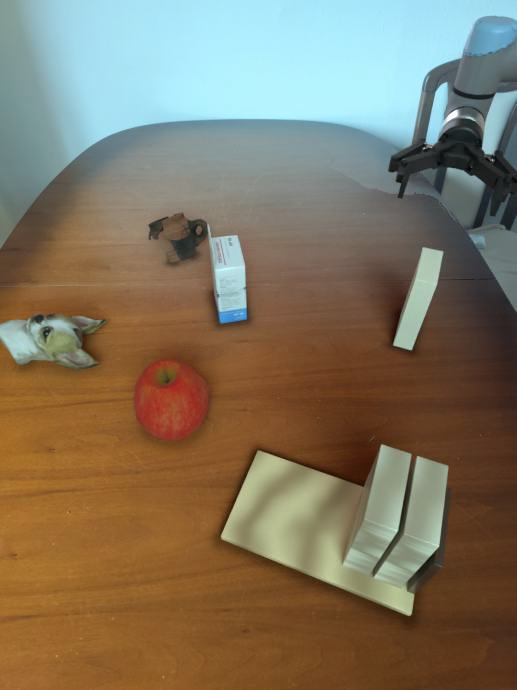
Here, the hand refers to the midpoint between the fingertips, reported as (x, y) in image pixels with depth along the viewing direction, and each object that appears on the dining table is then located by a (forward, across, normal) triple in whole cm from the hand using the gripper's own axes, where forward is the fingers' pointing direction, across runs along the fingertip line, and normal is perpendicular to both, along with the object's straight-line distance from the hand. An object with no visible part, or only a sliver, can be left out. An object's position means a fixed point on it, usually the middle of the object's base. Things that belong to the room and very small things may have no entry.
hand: (447, 199), depth 67 cm
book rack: (+46, +4, -19) cm, 50 cm away
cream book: (+10, 0, -19) cm, 21 cm away
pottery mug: (+3, +46, -19) cm, 50 cm away
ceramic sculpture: (+35, +51, -19) cm, 65 cm away
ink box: (+15, +30, -19) cm, 39 cm away
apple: (+39, +28, -19) cm, 52 cm away
